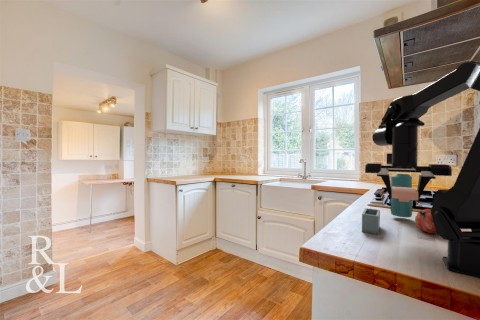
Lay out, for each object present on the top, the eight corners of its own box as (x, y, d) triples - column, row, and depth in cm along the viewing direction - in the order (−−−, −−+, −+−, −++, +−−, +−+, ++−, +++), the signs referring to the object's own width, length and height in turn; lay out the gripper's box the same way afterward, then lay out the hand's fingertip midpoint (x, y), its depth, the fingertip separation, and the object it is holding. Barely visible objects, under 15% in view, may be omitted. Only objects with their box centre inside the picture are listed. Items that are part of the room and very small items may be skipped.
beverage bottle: (416, 222, 76) (417, 164, 76) (395, 221, 77) (395, 164, 77) (406, 217, 82) (407, 164, 82) (386, 216, 84) (387, 164, 83)
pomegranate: (426, 234, 71) (401, 215, 71) (443, 217, 69) (418, 198, 69) (444, 246, 63) (417, 225, 63) (464, 228, 62) (436, 206, 62)
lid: (418, 204, 56) (418, 192, 56) (391, 201, 59) (391, 190, 59) (415, 198, 64) (415, 188, 64) (391, 196, 67) (391, 186, 67)
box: (378, 234, 64) (378, 216, 64) (361, 231, 67) (362, 213, 66) (379, 226, 71) (379, 209, 71) (364, 224, 74) (365, 208, 74)
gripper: (444, 144, 63) (443, 198, 63) (368, 146, 73) (368, 192, 74) (452, 142, 54) (451, 205, 54) (365, 144, 64) (364, 197, 64)
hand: (403, 199), depth 62 cm, fingers closed on lid, 6 cm apart
